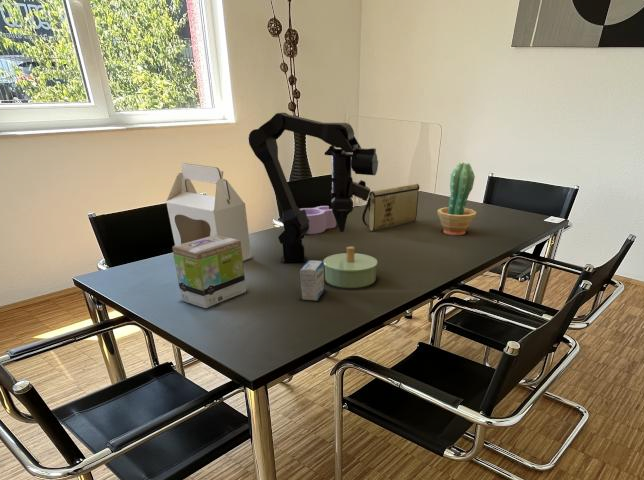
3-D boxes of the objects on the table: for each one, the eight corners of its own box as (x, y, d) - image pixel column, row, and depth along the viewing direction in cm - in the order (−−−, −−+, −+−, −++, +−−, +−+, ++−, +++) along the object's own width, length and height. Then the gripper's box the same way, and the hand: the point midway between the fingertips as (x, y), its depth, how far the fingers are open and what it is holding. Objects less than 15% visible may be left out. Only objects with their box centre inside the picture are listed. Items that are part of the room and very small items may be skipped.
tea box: (207, 309, 122) (197, 252, 114) (181, 301, 126) (169, 246, 118) (247, 292, 133) (241, 238, 124) (222, 285, 137) (214, 233, 129)
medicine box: (317, 301, 128) (316, 270, 123) (301, 300, 128) (299, 268, 123) (324, 290, 134) (323, 260, 129) (309, 289, 135) (308, 259, 130)
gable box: (252, 258, 158) (241, 166, 142) (223, 268, 149) (208, 171, 133) (206, 247, 168) (191, 159, 152) (176, 256, 158) (157, 164, 143)
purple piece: (321, 221, 200) (321, 204, 196) (342, 227, 193) (342, 209, 189) (285, 230, 188) (284, 212, 184) (306, 236, 181) (305, 217, 177)
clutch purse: (407, 218, 207) (409, 181, 199) (419, 221, 203) (422, 183, 194) (357, 229, 190) (358, 189, 182) (369, 233, 186) (370, 192, 178)
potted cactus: (479, 230, 191) (490, 162, 177) (465, 239, 180) (475, 167, 166) (444, 225, 198) (451, 159, 184) (428, 233, 187) (435, 163, 173)
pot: (325, 289, 135) (325, 271, 132) (324, 271, 147) (324, 255, 145) (377, 289, 136) (378, 271, 133) (372, 271, 148) (373, 254, 146)
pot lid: (323, 274, 132) (323, 256, 129) (323, 256, 145) (322, 240, 142) (380, 273, 133) (380, 255, 130) (374, 256, 146) (375, 239, 143)
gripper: (371, 178, 130) (369, 236, 139) (366, 168, 145) (365, 220, 154) (331, 178, 129) (332, 236, 138) (330, 167, 145) (331, 220, 154)
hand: (341, 227), depth 146 cm, fingers open, 9 cm apart
